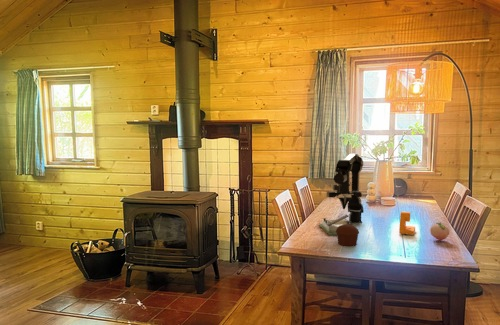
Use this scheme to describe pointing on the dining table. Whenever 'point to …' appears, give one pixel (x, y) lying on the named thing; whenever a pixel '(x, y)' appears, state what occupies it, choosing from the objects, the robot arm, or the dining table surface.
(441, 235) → the decorative fruit
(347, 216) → the strap
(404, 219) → the bracket
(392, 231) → the dining table surface
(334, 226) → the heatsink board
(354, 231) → the muffin
